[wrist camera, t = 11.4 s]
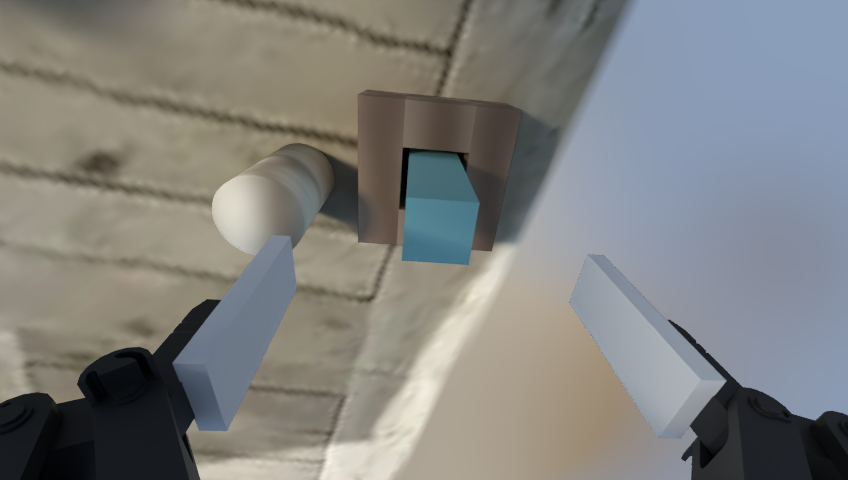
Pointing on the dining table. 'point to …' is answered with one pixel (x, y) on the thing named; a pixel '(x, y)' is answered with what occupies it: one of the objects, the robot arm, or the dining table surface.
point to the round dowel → (274, 198)
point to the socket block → (435, 130)
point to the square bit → (438, 209)
